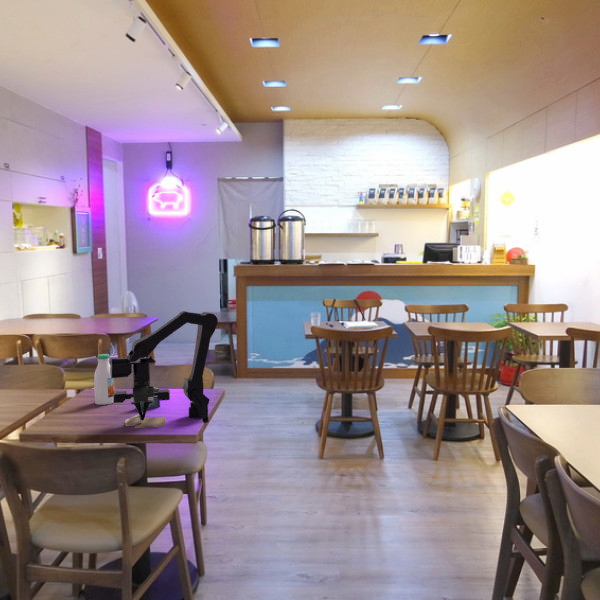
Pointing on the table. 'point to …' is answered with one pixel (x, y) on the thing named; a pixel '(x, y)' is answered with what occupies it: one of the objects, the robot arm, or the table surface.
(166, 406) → the table surface
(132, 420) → the coaster
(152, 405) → the flask
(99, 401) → the milk bottle
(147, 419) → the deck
